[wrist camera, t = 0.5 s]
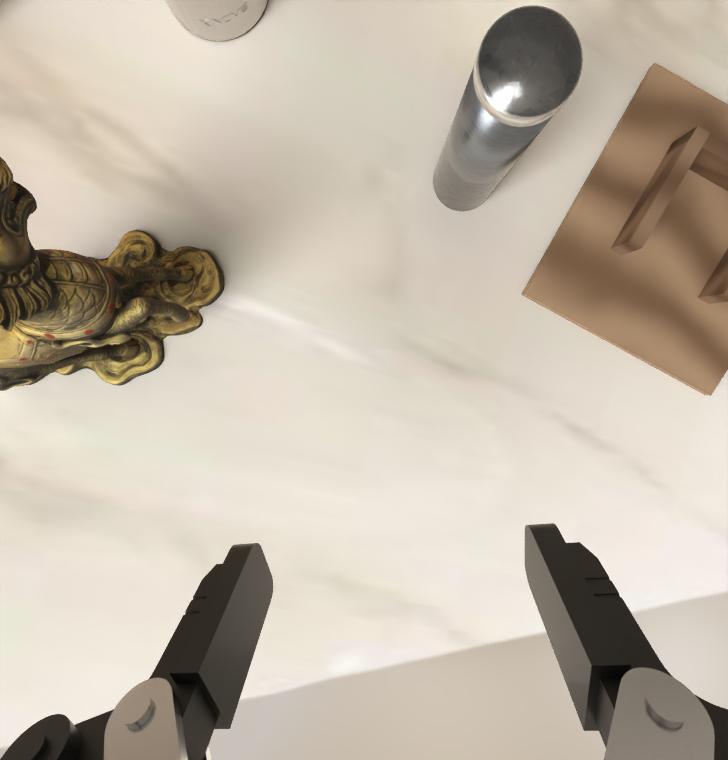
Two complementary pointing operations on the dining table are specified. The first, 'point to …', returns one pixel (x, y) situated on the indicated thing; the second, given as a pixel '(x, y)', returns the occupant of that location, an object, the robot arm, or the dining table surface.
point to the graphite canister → (507, 101)
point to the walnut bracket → (651, 236)
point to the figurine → (92, 300)
